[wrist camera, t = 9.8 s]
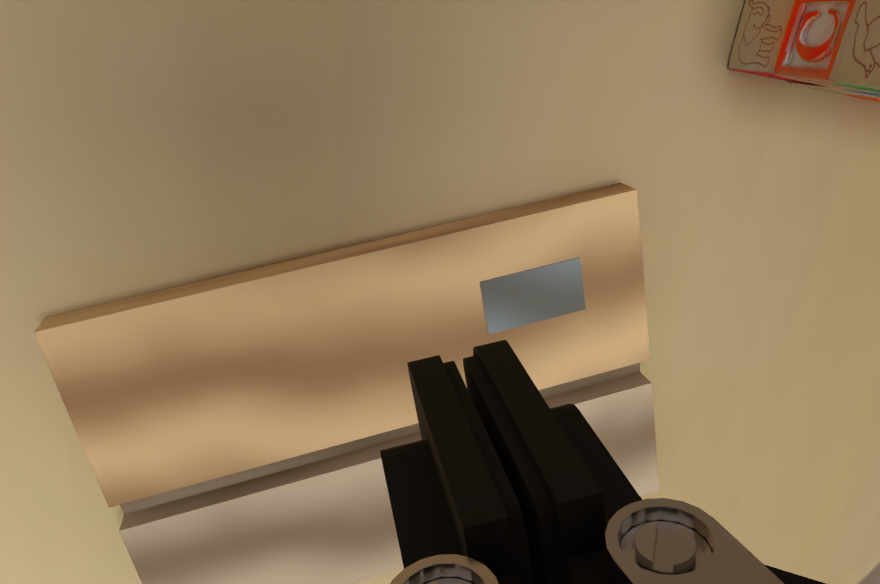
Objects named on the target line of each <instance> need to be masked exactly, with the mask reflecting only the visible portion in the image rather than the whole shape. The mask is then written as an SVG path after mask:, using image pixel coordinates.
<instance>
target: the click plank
mask: <svg viewBox="0 0 880 584" xmlns="http://www.w3.org/2000/svg"><path fill="white" fill-rule="evenodd" d="M34 334H35V336H36V339H37V341H38V343H39V346H40V348H41V350H42V353H43V355H44V357H45V360H46V362H47V364H48V367H49V369H50V371H51V374H52V376H53V378H54V381H55V383H56V385H57V388H58V390H59V392H60V395H61V397H62V399H63V402H64V404H65V406H66V409H67V411H68V413H69V416H70V418H71V420H72V423H73V425H74V427H75V429H76V432H77V434H78V436H79V439H80V441H81V443H82V446H83V448H84V450H85V453H86V455H87V457H88V460H89V462H90V464H91V467H92V469H93V471H94V474H95V476H96V478H97V481H98V483H99V485H100V488H101V490H102V492H103V495H104V497H105V499H106V502H107V504H108V506H109V507H113V506H116V505H120V504H124V503H127V502H131V501H135V500H138V499H142V498H146V497H149V496H153V495H157V494H160V493H164V492H168V491H171V490H175V489H179V488H182V487H186V486H190V485H193V484H197V483H201V482H204V481H208V480H212V479H215V478H219V477H223V476H226V475H230V474H234V473H237V472H241V471H245V470H248V469H252V468H256V467H259V466H263V465H267V464H270V463H274V462H278V461H281V460H285V459H288V458H292V457H296V456H299V455H303V454H307V453H310V452H314V451H318V450H321V449H325V448H329V447H332V446H336V445H340V444H343V443H347V442H351V441H354V440H358V439H362V438H365V437H369V436H373V435H376V434H380V433H384V432H387V431H391V430H395V429H398V428H402V427H406V426H409V425H413V424H417V423H418V418H417V413H416V408H415V403H414V397H413V392H412V387H411V382H410V377H409V372H408V365H407V362H411V361H416V360H420V359H424V358H429V357H433V356H437V355H440V357H441V359H442V362H443V363H445V362H449V361H454V362H455V364H456V366H457V368H458V370H459V372H460V374H461V377H462V379H463V381H464V383H465V385H466V379H465V373H464V366H463V358H467V357H471V356H473V348H474V347H476V346H480V345H484V344H489V343H493V342H497V341H502V340H506V341H507V342H508V343H509V345H510V346H511V348H512V349H513V351H514V353H515V354H516V356H517V357H518V359H519V360H520V362H521V364H522V365H523V367H524V368H525V370H526V371H527V373H528V375H529V376H530V378H531V379H532V381H533V383H534V384H535V386H536V387H537V389H538V390H541V389H545V388H549V387H552V386H556V385H560V384H563V383H567V382H571V381H574V380H578V379H582V378H585V377H589V376H593V375H596V374H600V373H603V372H607V371H611V370H614V369H618V368H622V367H625V366H629V365H633V364H636V363H640V362H644V361H647V360H650V354H649V341H648V328H647V315H646V302H645V289H644V276H643V263H642V250H641V236H640V223H639V210H638V197H637V189H634V188H632V187H629V186H627V185H624V184H622V183H618V184H613V185H609V186H605V187H601V188H596V189H592V190H588V191H584V192H579V193H575V194H571V195H567V196H562V197H558V198H554V199H549V200H545V201H541V202H537V203H532V204H528V205H524V206H520V207H515V208H511V209H507V210H503V211H498V212H494V213H490V214H485V215H481V216H477V217H473V218H468V219H464V220H460V221H456V222H451V223H447V224H443V225H439V226H434V227H430V228H426V229H421V230H417V231H413V232H409V233H404V234H400V235H396V236H392V237H387V238H383V239H379V240H375V241H370V242H366V243H362V244H357V245H353V246H349V247H345V248H340V249H336V250H332V251H328V252H323V253H319V254H315V255H311V256H306V257H302V258H298V259H293V260H289V261H285V262H281V263H276V264H272V265H268V266H264V267H259V268H255V269H251V270H247V271H242V272H238V273H234V274H229V275H225V276H221V277H217V278H212V279H208V280H204V281H200V282H195V283H191V284H187V285H183V286H178V287H174V288H170V289H165V290H161V291H157V292H153V293H148V294H144V295H140V296H136V297H131V298H127V299H123V300H119V301H114V302H110V303H106V304H101V305H97V306H93V307H89V308H84V309H80V310H76V311H72V312H67V313H63V314H59V315H55V316H50V317H46V319H45V320H44V321H43V322H42V323H41V324H40V326H39V327H38V328H37V329H36V330H35V332H34ZM466 388H467V386H466Z"/></svg>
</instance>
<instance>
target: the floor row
mask: <svg viewBox="0 0 880 584" xmlns="http://www.w3.org/2000/svg"><path fill="white" fill-rule="evenodd" d="M539 392H540V394H541V395H542V397H543V398H544V400H545V401H546V403H547V405H548V406H549V408H554V407H558V406H562V405H566V404H570V403H571V404H574V405H575V406H576V407H577V408H578V409H579V410H580V412H581V413H582V415H583V416H584V418H585V419H586V420H587V422H588V423H589V425H590V426H591V428H592V429H593V430H594V432H595V433H596V435H597V436H598V438H599V439H600V440H601V442H602V443H603V445H604V446H605V447H606V449H607V450H608V452H609V453H610V455H611V456H612V457H613V459H614V460H615V462H616V463H617V465H618V466H619V467H620V469H621V470H622V472H623V473H624V475H625V476H626V477H627V479H628V480H629V482H630V483H631V484H632V486H633V487H634V489H635V490H636V492H637V493H638V494H639V496H640V497H641V496H644V495H648V494H651V493H654V492H658V491H659V484H658V469H657V455H656V440H655V426H654V411H653V397H652V383H651V382H650V381H649V380H648V379H647V378H646V377H645V376H644V375H642V374H641V373H640V363H636V364H633V365H629V366H625V367H622V368H618V369H614V370H611V371H607V372H603V373H600V374H596V375H593V376H589V377H585V378H582V379H578V380H574V381H571V382H567V383H563V384H560V385H556V386H552V387H549V388H545V389H541V390H539ZM420 440H422V439H421V433H420V428H419V423H417V424H413V425H409V426H406V427H402V428H398V429H395V430H391V431H387V432H384V433H380V434H376V435H373V436H369V437H365V438H362V439H358V440H354V441H351V442H347V443H343V444H340V445H336V446H332V447H329V448H325V449H321V450H318V451H314V452H310V453H307V454H303V455H299V456H296V457H292V458H288V459H285V460H281V461H278V462H274V463H270V464H267V465H263V466H259V467H256V468H252V469H248V470H245V471H241V472H237V473H234V474H230V475H226V476H223V477H219V478H215V479H212V480H208V481H204V482H201V483H197V484H193V485H190V486H186V487H182V488H179V489H175V490H171V491H168V492H164V493H160V494H157V495H153V496H149V497H146V498H142V499H138V500H135V501H131V502H127V503H124V504H120V505H121V508H122V510H123V512H124V517H123V521H122V524H121V527H120V530H119V532H120V534H121V536H122V538H123V541H124V543H125V545H126V548H127V550H128V552H129V554H130V557H131V559H132V561H133V564H134V566H135V568H136V570H137V573H138V575H139V577H140V579H141V582H142V584H352V583H355V582H359V581H362V580H365V579H369V578H372V577H375V576H379V575H382V574H385V573H389V572H392V571H395V570H399V569H402V568H404V566H403V562H402V557H401V552H400V547H399V542H398V537H397V532H396V528H395V523H394V518H393V513H392V508H391V503H390V498H389V494H388V489H387V484H386V479H385V474H384V469H383V464H382V459H381V454H380V450H384V449H388V448H392V447H396V446H400V445H404V444H408V443H412V442H416V441H420Z"/></svg>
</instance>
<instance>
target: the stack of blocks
mask: <svg viewBox="0 0 880 584" xmlns="http://www.w3.org/2000/svg"><path fill="white" fill-rule="evenodd" d="M728 69H730V70H734V71H740V72H746V73H751V74H756V75H761V76H767V77H771V78H777V79H782V80H788V81H789V83H791V84H796V85H801V86H805V87H810V88H815V89H820V90H825V91H830V92H835V93H841V94H845V95H849V96H854V97H859V98H863V99H868V100H873V101H878V102H880V0H746V1H745V5H744V8H743V12H742V16H741V19H740V23H739V27H738V30H737V34H736V37H735V41H734V44H733V48H732V52H731V56H730V61H729V67H728Z"/></svg>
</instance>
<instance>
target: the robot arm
mask: <svg viewBox="0 0 880 584" xmlns="http://www.w3.org/2000/svg"><path fill="white" fill-rule="evenodd" d="M407 365H408V372H409V377H410V382H411V387H412V392H413V397H414V403H415V408H416V413H417V418H418V423H419V428H420V433H421V439H422V440H420V441H416V442H412V443H408V444H404V445H400V446H396V447H392V448H388V449H384V450H380V454H381V459H382V464H383V469H384V474H385V479H386V484H387V489H388V494H389V498H390V503H391V508H392V513H393V518H394V523H395V528H396V532H397V537H398V542H399V547H400V552H401V557H402V562H403V566H404V570H402V571H401V572H400V573H399V574H398V575H397V576H396V577H395V578H394V579H393V580H392V582H391V583H390V584H825V583H822V582H819V581H815V580H812V579H809V578H806V577H803V576H799V575H796V574H793V573H790V572H786V571H783V570H780V569H777V568H773V567H770V566H767V565H764V564H763V563H761V562H760V561H759V560H758V559H757V558H756V557H755V556H754V555H753V554H752V553H751V552H750V551H749V550H747V549H746V548H745V547H744V546H743V545H742V544H741V543H740V542H739V541H738V540H737V539H736V538H734V537H733V536H732V535H731V534H730V533H729V532H728V531H727V530H726V529H725V528H724V527H723V526H721V525H720V524H719V523H718V522H717V521H716V520H715V519H714V518H713V517H711V516H710V515H708V514H707V513H706V512H704V511H703V510H701V509H700V508H698V507H695V506H693V505H690V504H688V503H685V502H683V501H677V500H672V499H666V498H657V499H644V500H642V499H641V497H640V496H639V494H638V493H637V492H636V490H635V489H634V487H633V486H632V484H631V483H630V482H629V480H628V479H627V477H626V476H625V475H624V473H623V472H622V470H621V469H620V467H619V466H618V465H617V463H616V462H615V460H614V459H613V457H612V456H611V455H610V453H609V452H608V450H607V449H606V447H605V446H604V445H603V443H602V442H601V440H600V439H599V438H598V436H597V435H596V433H595V432H594V430H593V429H592V428H591V426H590V425H589V423H588V422H587V420H586V419H585V418H584V416H583V415H582V413H581V412H580V410H579V409H578V408H577V407H576V406H575V405H574V404H571V403H570V404H566V405H562V406H558V407H554V408H549V406H548V405H547V403H546V401H545V400H544V398H543V397H542V395H541V394H540V392H539V390H538V389H537V387H536V386H535V384H534V383H533V381H532V379H531V378H530V376H529V375H528V373H527V371H526V370H525V368H524V367H523V365H522V364H521V362H520V360H519V359H518V357H517V356H516V354H515V353H514V351H513V349H512V348H511V346H510V345H509V343H508V342H507V341H506V340H502V341H497V342H493V343H489V344H484V345H480V346H476V347H474V348H473V356H471V357H467V358H463V366H464V373H465V379H466V385H465V383H464V381H463V379H462V377H461V374H460V372H459V370H458V368H457V366H456V364H455V362H454V361H449V362H445V363H443V362H442V359H441V357H440V355H437V356H433V357H429V358H424V359H420V360H416V361H411V362H407ZM466 386H467V388H466Z"/></svg>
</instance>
